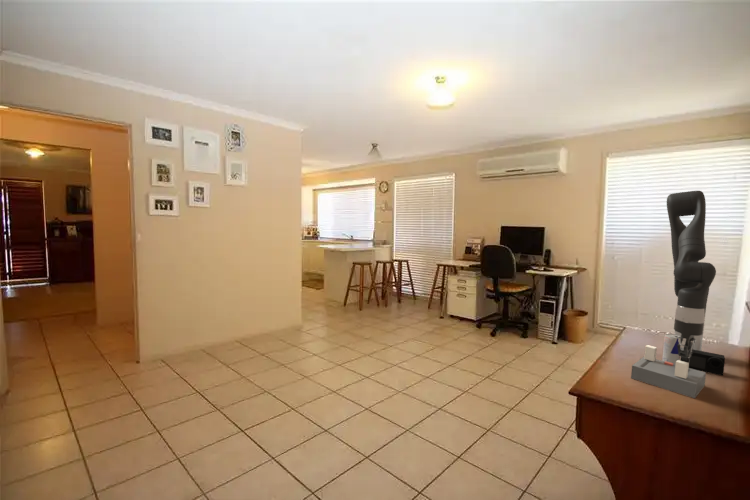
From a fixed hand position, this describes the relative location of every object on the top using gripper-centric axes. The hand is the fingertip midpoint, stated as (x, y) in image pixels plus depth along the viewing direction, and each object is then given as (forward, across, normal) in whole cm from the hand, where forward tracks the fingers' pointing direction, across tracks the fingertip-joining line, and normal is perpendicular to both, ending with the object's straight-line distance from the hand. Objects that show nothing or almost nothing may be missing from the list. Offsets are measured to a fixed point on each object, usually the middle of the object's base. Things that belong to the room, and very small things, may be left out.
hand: (684, 367), depth 124 cm
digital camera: (+8, -25, +2) cm, 26 cm away
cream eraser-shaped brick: (+3, +3, 0) cm, 4 cm away
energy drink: (+8, -21, -8) cm, 24 cm away
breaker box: (+8, -1, -4) cm, 9 cm away
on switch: (+3, -5, -11) cm, 12 cm away
